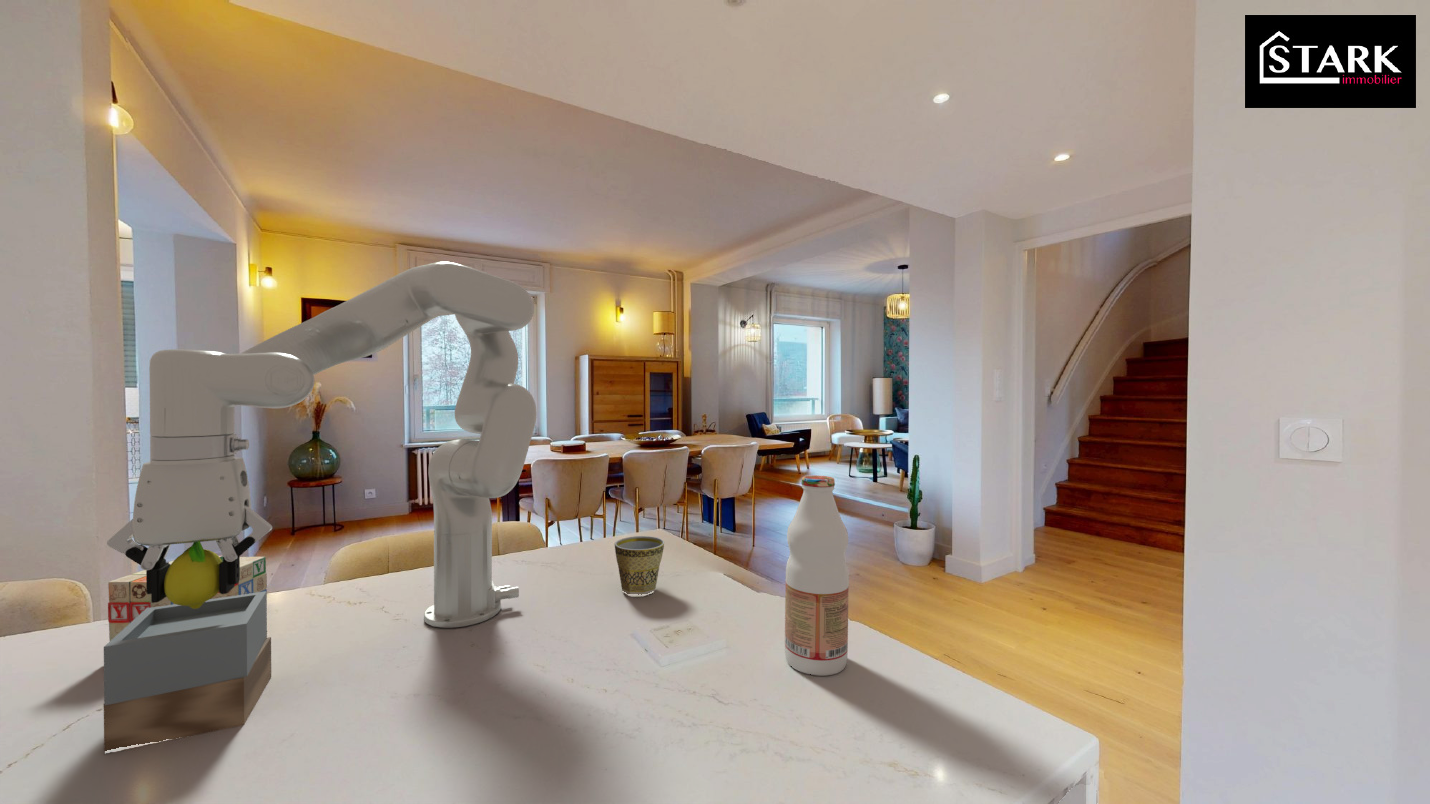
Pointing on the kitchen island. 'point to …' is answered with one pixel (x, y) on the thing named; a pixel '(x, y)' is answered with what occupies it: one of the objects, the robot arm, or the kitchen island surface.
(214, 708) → the tower base block
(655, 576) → the ceramic cup
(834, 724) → the kitchen island surface
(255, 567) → the stack of blocks
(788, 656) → the fruit juice
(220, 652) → the tower top block
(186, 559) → the lemon
